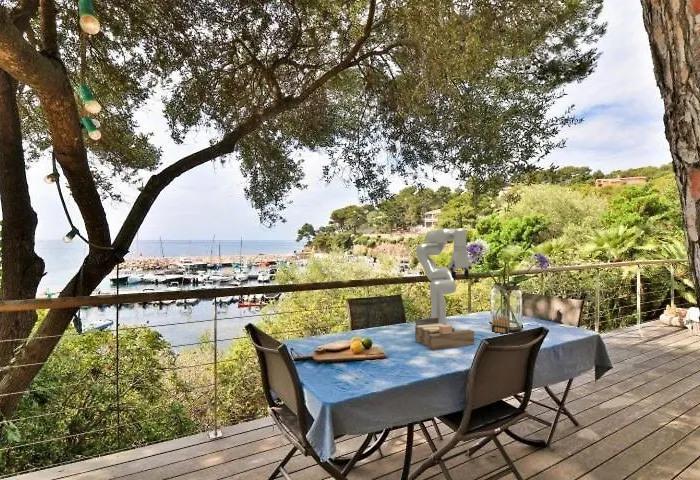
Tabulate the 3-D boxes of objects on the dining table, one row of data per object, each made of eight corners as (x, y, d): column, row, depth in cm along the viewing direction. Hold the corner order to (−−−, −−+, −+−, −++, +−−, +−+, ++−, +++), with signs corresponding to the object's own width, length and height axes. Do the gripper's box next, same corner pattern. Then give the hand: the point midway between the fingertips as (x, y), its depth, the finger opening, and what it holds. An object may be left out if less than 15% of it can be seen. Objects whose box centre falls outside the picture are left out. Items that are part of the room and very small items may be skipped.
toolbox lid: (415, 326, 255) (415, 319, 255) (437, 324, 261) (437, 317, 261) (430, 332, 240) (430, 325, 240) (454, 329, 247) (454, 322, 246)
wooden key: (439, 333, 242) (439, 325, 241) (448, 331, 244) (448, 324, 244) (443, 334, 238) (443, 327, 238) (452, 333, 241) (452, 326, 241)
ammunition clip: (491, 332, 274) (491, 313, 273) (493, 332, 275) (493, 313, 275) (508, 335, 266) (508, 316, 266) (509, 335, 268) (509, 315, 267)
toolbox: (412, 341, 254) (412, 327, 254) (451, 336, 266) (451, 323, 265) (432, 350, 235) (432, 335, 235) (474, 344, 247) (474, 330, 246)
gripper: (467, 248, 270) (467, 276, 270) (444, 249, 262) (444, 277, 262) (475, 249, 263) (475, 277, 263) (452, 249, 255) (452, 279, 256)
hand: (460, 277), depth 263 cm, fingers open, 9 cm apart
